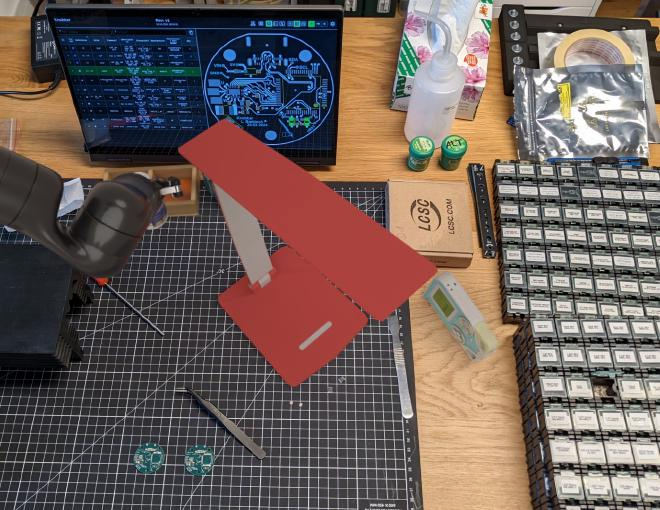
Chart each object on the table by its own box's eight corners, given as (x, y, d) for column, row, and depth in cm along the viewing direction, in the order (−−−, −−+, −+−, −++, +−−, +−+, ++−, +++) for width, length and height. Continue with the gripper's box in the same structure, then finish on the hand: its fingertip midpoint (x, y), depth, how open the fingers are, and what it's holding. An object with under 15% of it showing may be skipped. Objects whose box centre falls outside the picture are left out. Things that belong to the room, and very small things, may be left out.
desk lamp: (340, 441, 97) (349, 349, 62) (192, 281, 111) (131, 132, 76) (418, 367, 103) (466, 245, 68) (269, 223, 117) (245, 61, 82)
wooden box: (198, 215, 118) (195, 203, 114) (106, 220, 117) (99, 208, 113) (200, 176, 122) (196, 164, 119) (110, 181, 121) (104, 169, 118)
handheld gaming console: (470, 369, 105) (419, 297, 109) (483, 361, 106) (432, 289, 110) (491, 353, 95) (434, 274, 99) (505, 344, 96) (448, 266, 100)
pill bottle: (162, 233, 102) (148, 198, 93) (131, 227, 102) (114, 193, 94) (173, 206, 104) (159, 170, 96) (142, 201, 105) (126, 165, 96)
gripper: (175, 166, 83) (182, 155, 99) (65, 187, 81) (90, 172, 97) (188, 221, 85) (192, 201, 101) (80, 242, 83) (102, 218, 99)
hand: (142, 187), depth 99 cm, fingers closed on pill bottle, 5 cm apart
